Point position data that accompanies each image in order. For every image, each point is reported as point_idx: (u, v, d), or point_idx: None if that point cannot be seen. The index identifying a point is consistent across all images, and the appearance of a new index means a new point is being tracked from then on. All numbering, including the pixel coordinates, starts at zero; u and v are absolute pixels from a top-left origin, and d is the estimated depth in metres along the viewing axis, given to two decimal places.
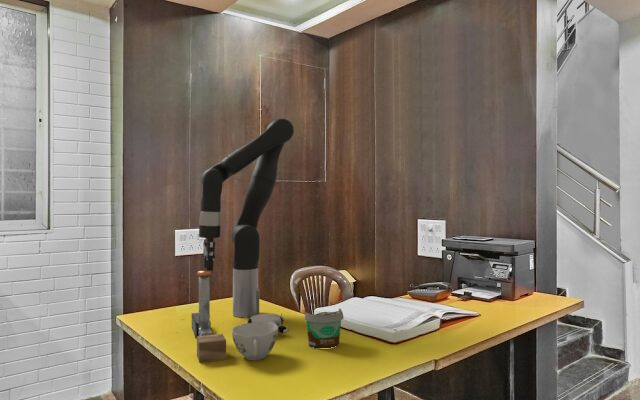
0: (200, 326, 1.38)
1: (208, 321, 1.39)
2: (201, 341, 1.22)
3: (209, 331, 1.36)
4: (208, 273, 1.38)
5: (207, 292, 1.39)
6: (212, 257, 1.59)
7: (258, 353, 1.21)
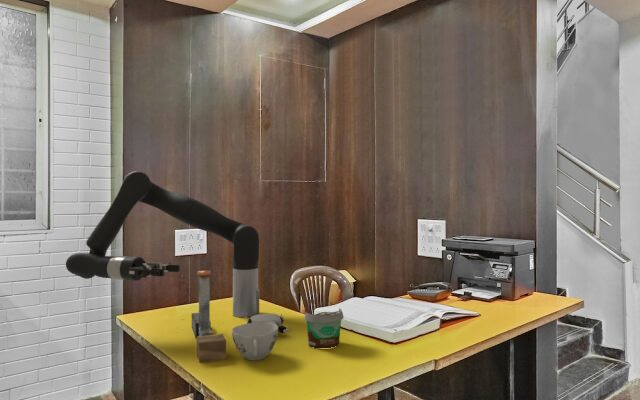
0: (200, 326, 1.38)
1: (208, 321, 1.39)
2: (201, 341, 1.22)
3: (209, 331, 1.36)
4: (208, 273, 1.38)
5: (207, 292, 1.39)
6: (143, 271, 1.37)
7: (258, 353, 1.21)
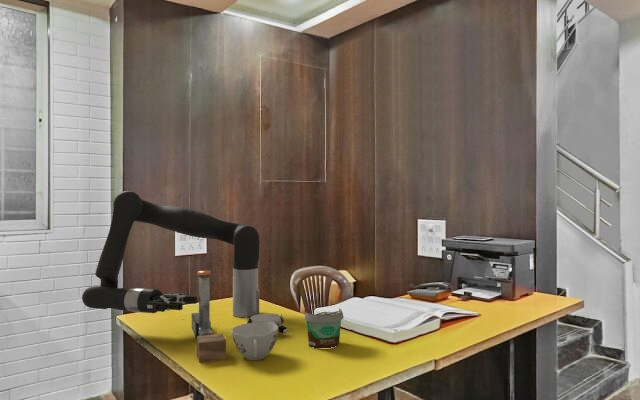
0: (200, 326, 1.38)
1: (208, 321, 1.39)
2: (201, 341, 1.22)
3: (209, 331, 1.36)
4: (208, 273, 1.38)
5: (207, 292, 1.39)
6: (161, 305, 1.35)
7: (258, 353, 1.21)
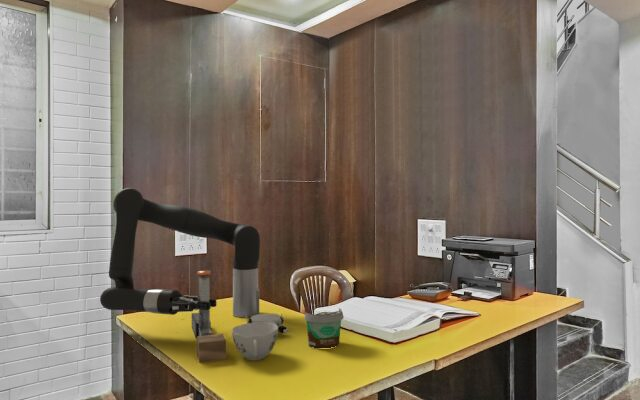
0: (200, 326, 1.38)
1: (208, 321, 1.39)
2: (201, 341, 1.22)
3: (209, 331, 1.36)
4: (208, 273, 1.38)
5: (207, 292, 1.39)
6: (190, 305, 1.36)
7: (258, 353, 1.21)
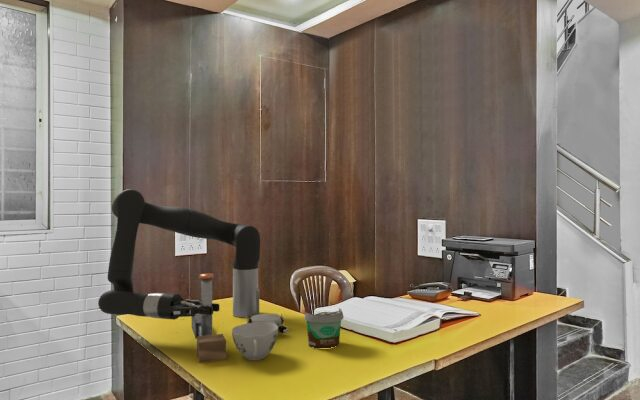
0: (203, 332, 1.33)
1: (211, 327, 1.33)
2: (201, 341, 1.22)
3: None
4: (211, 276, 1.33)
5: (210, 296, 1.33)
6: (192, 310, 1.30)
7: (258, 353, 1.21)
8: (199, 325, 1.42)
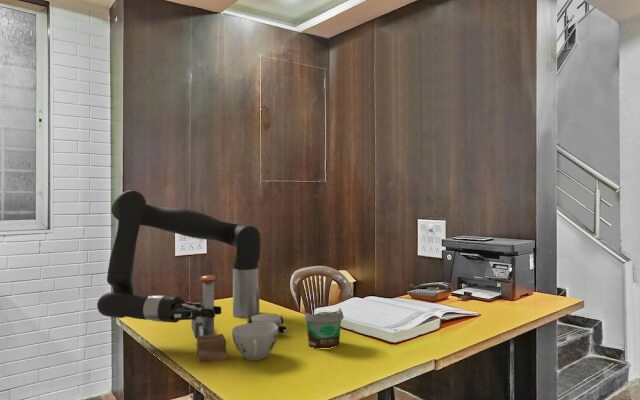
0: (204, 335, 1.29)
1: (212, 330, 1.30)
2: (201, 341, 1.22)
3: None
4: (212, 278, 1.29)
5: (211, 299, 1.30)
6: (193, 313, 1.27)
7: (258, 353, 1.21)
8: (200, 328, 1.38)
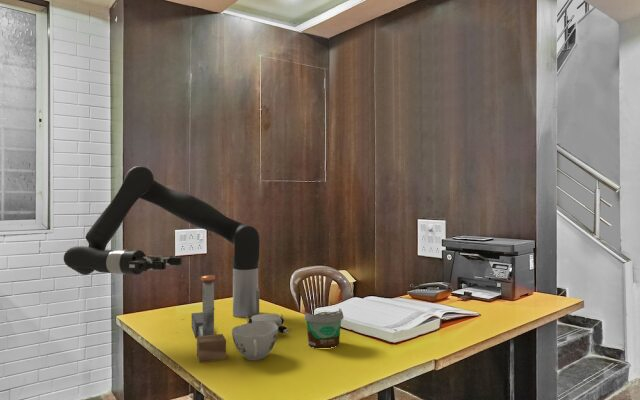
0: (204, 335, 1.29)
1: (212, 330, 1.30)
2: (201, 341, 1.22)
3: None
4: (212, 278, 1.29)
5: (211, 299, 1.30)
6: (144, 264, 1.32)
7: (258, 353, 1.21)
8: (200, 328, 1.38)
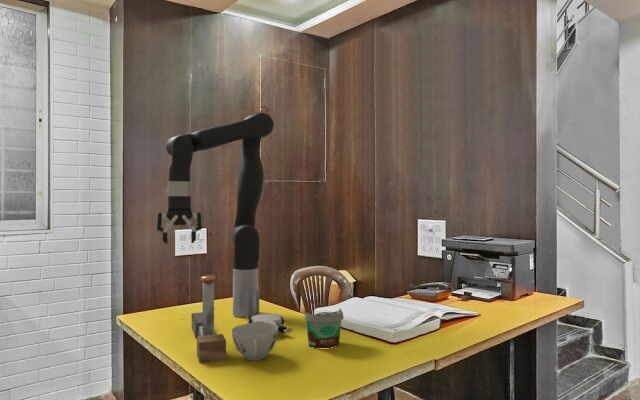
0: (204, 335, 1.29)
1: (212, 330, 1.30)
2: (201, 341, 1.22)
3: None
4: (212, 278, 1.29)
5: (211, 299, 1.30)
6: (157, 228, 1.51)
7: (258, 353, 1.21)
8: (200, 328, 1.38)
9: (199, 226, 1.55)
